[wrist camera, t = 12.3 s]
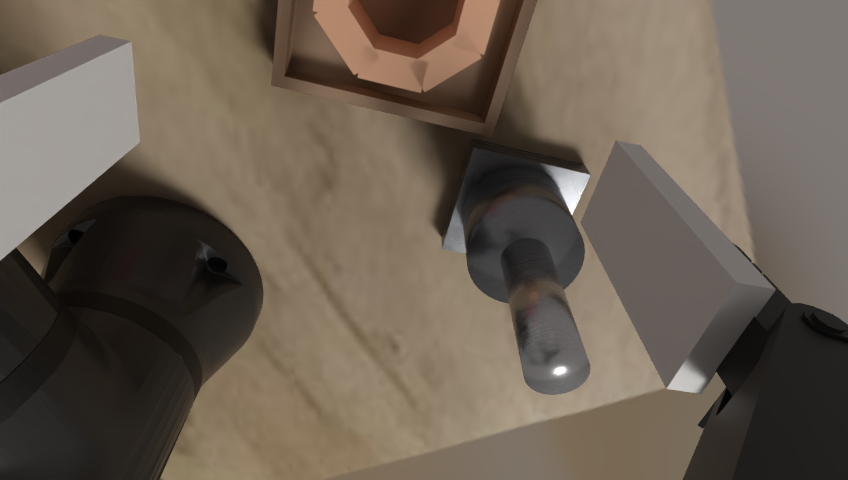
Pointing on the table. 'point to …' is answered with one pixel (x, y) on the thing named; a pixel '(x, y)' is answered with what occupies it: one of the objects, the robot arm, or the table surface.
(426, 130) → the table surface
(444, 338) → the table surface
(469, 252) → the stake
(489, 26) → the ring
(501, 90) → the tray
